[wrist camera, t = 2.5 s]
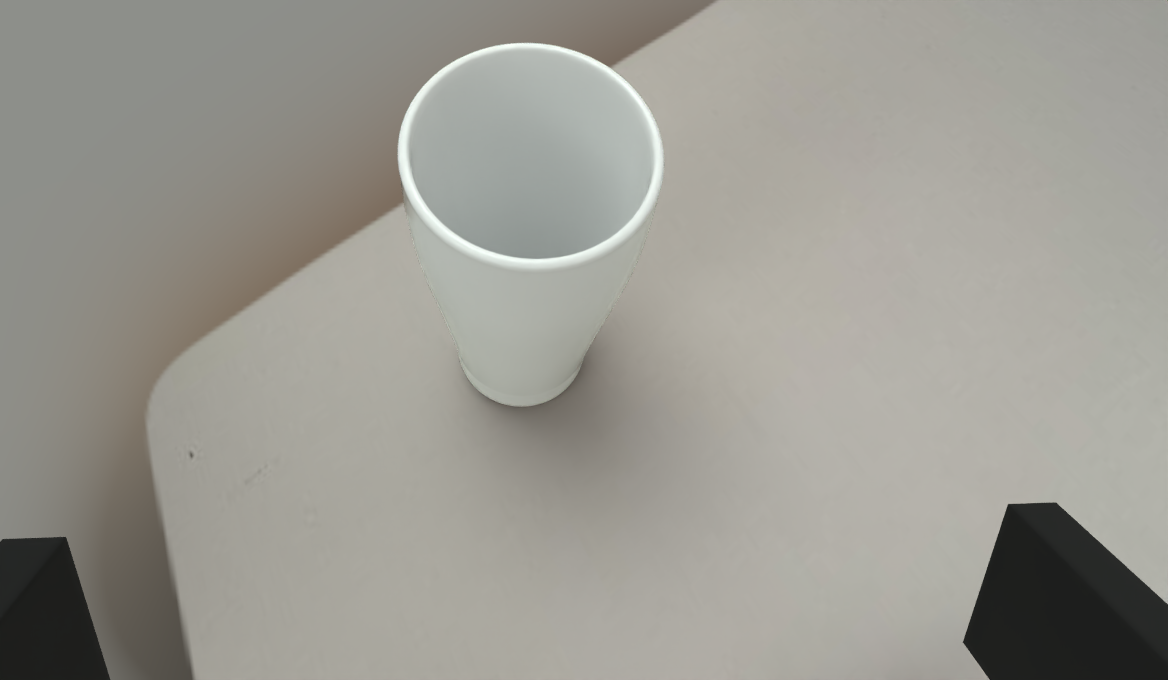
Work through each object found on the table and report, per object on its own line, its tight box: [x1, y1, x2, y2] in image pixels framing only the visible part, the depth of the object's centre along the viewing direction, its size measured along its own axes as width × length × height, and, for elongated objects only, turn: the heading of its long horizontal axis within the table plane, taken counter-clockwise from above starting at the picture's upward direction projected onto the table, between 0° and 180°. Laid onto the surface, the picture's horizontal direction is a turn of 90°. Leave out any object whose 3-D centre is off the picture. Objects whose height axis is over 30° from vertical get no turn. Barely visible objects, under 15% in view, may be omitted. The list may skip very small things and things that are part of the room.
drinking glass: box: [398, 43, 664, 407], centre depth 25 cm, size 7×7×15 cm
